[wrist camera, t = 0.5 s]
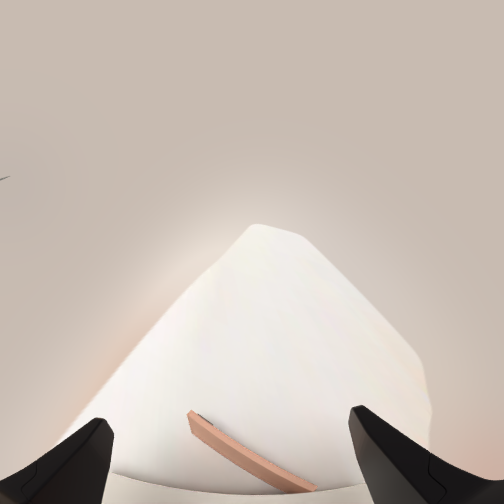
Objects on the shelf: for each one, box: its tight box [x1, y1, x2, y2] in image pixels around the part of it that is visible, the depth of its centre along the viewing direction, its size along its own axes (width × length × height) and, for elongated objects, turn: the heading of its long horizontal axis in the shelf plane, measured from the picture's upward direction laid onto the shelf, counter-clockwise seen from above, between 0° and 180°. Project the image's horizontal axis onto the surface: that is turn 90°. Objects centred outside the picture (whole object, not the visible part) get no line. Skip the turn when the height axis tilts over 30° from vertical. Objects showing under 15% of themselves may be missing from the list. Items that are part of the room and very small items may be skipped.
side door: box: [187, 410, 318, 494], centre depth 18 cm, size 1×12×4 cm, turn 54°
